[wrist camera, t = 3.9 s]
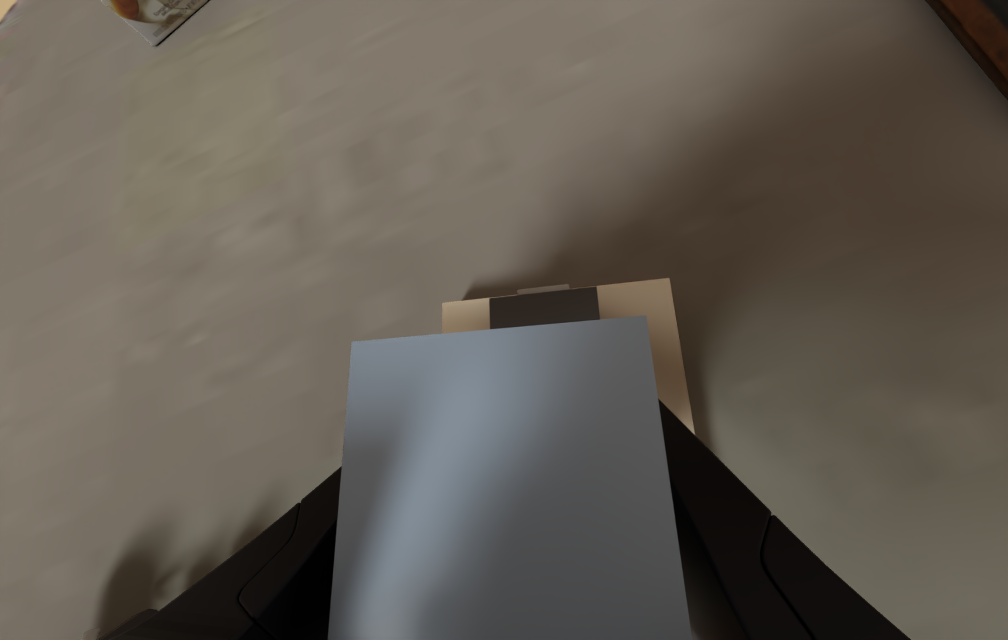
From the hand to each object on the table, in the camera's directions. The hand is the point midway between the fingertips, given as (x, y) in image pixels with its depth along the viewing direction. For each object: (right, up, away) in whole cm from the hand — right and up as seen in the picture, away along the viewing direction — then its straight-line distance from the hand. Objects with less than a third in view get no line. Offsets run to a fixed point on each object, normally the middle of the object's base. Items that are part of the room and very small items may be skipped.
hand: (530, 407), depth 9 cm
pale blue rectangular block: (+1, -3, +5) cm, 6 cm away
